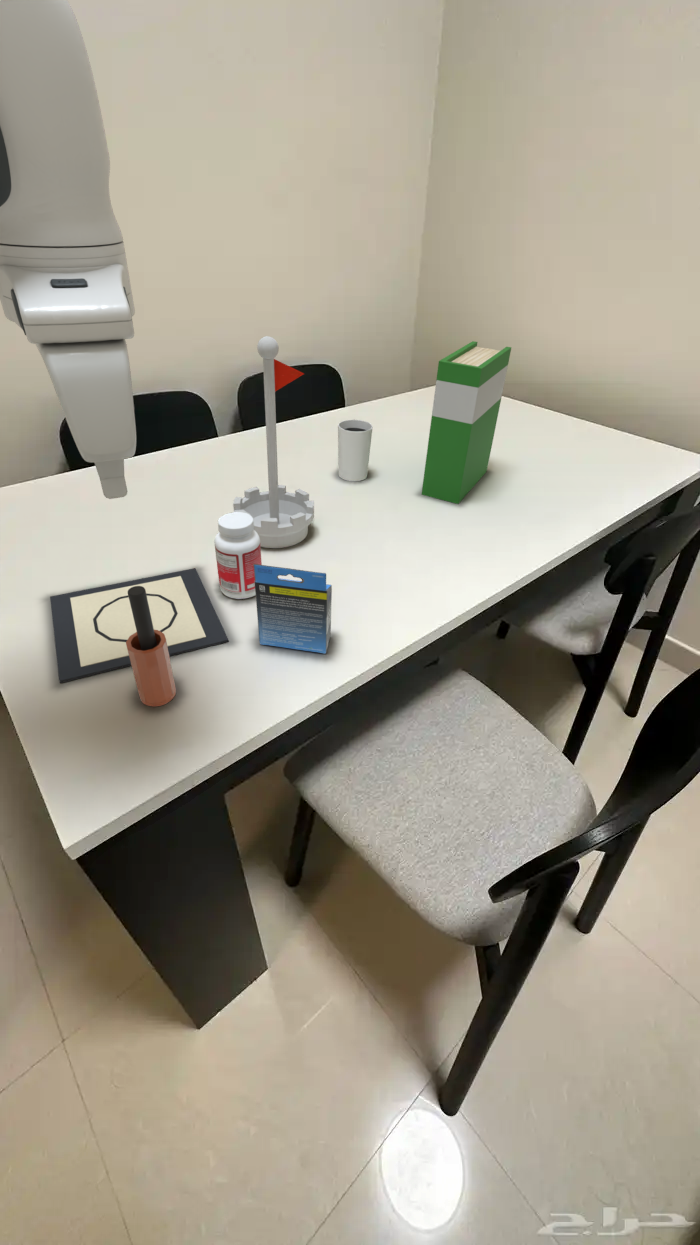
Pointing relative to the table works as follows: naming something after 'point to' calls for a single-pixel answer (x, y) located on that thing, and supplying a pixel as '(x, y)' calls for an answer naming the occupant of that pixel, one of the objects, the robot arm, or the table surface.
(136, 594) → the marker
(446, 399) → the hardback book
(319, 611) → the blue retail box
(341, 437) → the white cup
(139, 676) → the pen cup
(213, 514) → the table surface
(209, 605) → the desk mat
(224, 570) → the pill bottle
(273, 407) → the flag stand
